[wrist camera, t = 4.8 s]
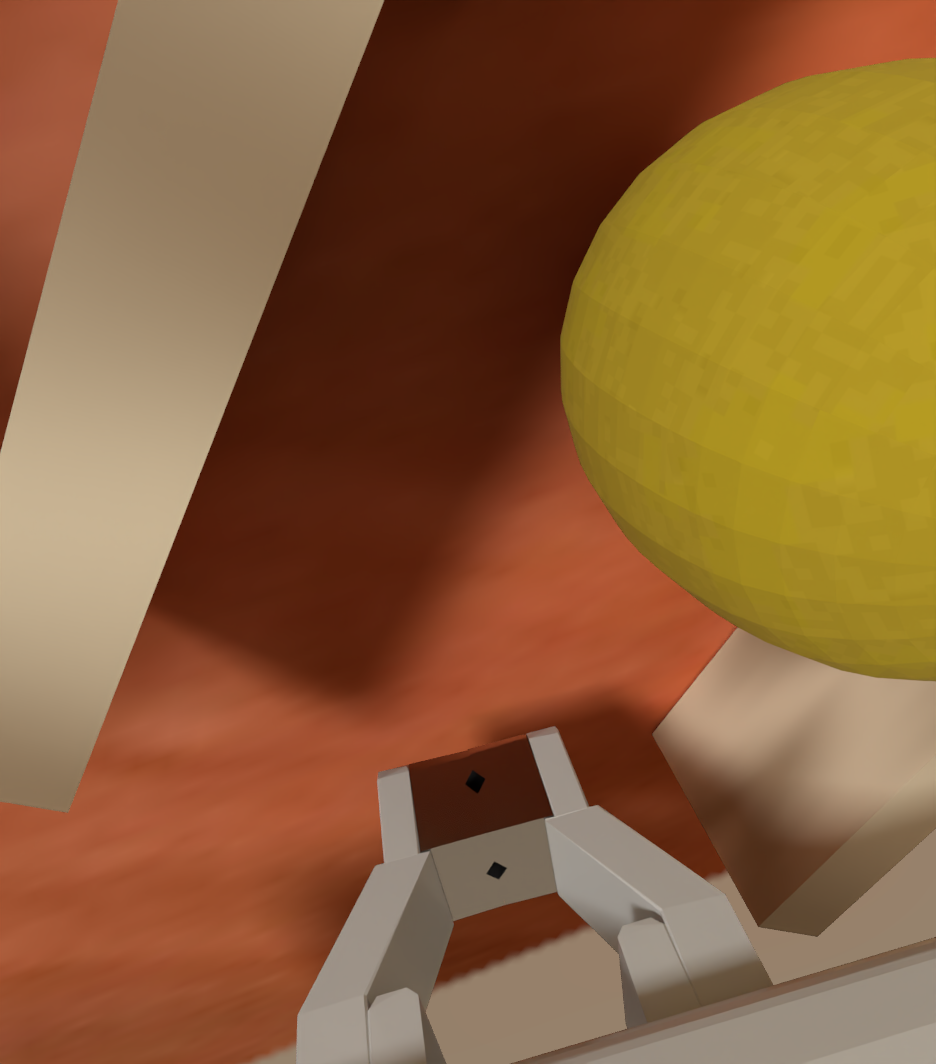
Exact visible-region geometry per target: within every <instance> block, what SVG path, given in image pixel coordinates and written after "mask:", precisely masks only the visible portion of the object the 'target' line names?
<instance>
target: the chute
mask: <svg viewBox="0 0 936 1064" xmlns="http://www.w3.org/2000/svg"><path fill="white" fill-rule="evenodd" d="M383 2H384V0H118V3H117V7H116V11H115V15H114V19H113V22H112V26H111V30H110V34H109V38H108V42H107V45H106V49H105V53H104V57H103V61H102V65H101V69H100V72H99V76H98V80H97V84H96V88H95V92H94V95H93V99H92V103H91V107H90V111H89V115H88V118H87V122H86V126H85V130H84V134H83V138H82V141H81V145H80V149H79V153H78V157H77V161H76V164H75V168H74V172H73V176H72V180H71V184H70V187H69V191H68V195H67V199H66V203H65V207H64V210H63V214H62V218H61V222H60V226H59V230H58V233H57V237H56V241H55V245H54V249H53V253H52V256H51V260H50V264H49V268H48V272H47V276H46V279H45V283H44V287H43V291H42V295H41V299H40V302H39V306H38V310H37V314H36V318H35V322H34V326H33V329H32V333H31V337H30V341H29V345H28V349H27V352H26V356H25V360H24V364H23V368H22V372H21V375H20V379H19V383H18V387H17V391H16V395H15V398H14V402H13V406H12V410H11V414H10V418H9V421H8V425H7V429H6V433H5V437H4V441H3V444H2V448H1V452H0V802H6V803H12V804H18V805H25V806H31V807H37V808H43V809H49V810H55V811H61V812H67V813H68V812H69V809H70V806H71V804H72V801H73V799H74V796H75V794H76V791H77V788H78V786H79V783H80V781H81V778H82V776H83V773H84V770H85V768H86V765H87V763H88V760H89V758H90V755H91V752H92V750H93V747H94V745H95V742H96V740H97V737H98V734H99V732H100V729H101V727H102V724H103V722H104V719H105V716H106V714H107V711H108V709H109V706H110V704H111V701H112V698H113V696H114V693H115V691H116V688H117V686H118V683H119V680H120V678H121V675H122V673H123V670H124V668H125V665H126V662H127V660H128V657H129V655H130V652H131V650H132V647H133V644H134V642H135V639H136V637H137V634H138V632H139V629H140V627H141V624H142V621H143V619H144V616H145V614H146V611H147V609H148V606H149V603H150V601H151V598H152V596H153V593H154V591H155V588H156V585H157V583H158V580H159V578H160V575H161V573H162V570H163V567H164V565H165V562H166V560H167V557H168V555H169V552H170V549H171V547H172V544H173V542H174V539H175V537H176V534H177V531H178V529H179V526H180V524H181V521H182V519H183V516H184V513H185V511H186V508H187V506H188V503H189V501H190V498H191V495H192V493H193V490H194V488H195V485H196V483H197V480H198V477H199V475H200V472H201V470H202V467H203V465H204V462H205V459H206V457H207V454H208V452H209V449H210V447H211V444H212V441H213V439H214V436H215V434H216V431H217V429H218V426H219V424H220V421H221V418H222V416H223V413H224V411H225V408H226V406H227V403H228V400H229V398H230V395H231V393H232V390H233V388H234V385H235V382H236V380H237V377H238V375H239V372H240V370H241V367H242V364H243V362H244V359H245V357H246V354H247V352H248V349H249V346H250V344H251V341H252V339H253V336H254V334H255V331H256V328H257V326H258V323H259V321H260V318H261V316H262V313H263V310H264V308H265V305H266V303H267V300H268V298H269V295H270V292H271V290H272V287H273V285H274V282H275V280H276V277H277V274H278V272H279V269H280V267H281V264H282V262H283V259H284V256H285V254H286V251H287V249H288V246H289V244H290V241H291V239H292V236H293V233H294V231H295V228H296V226H297V223H298V221H299V218H300V215H301V213H302V210H303V208H304V205H305V203H306V200H307V197H308V195H309V192H310V190H311V187H312V185H313V182H314V179H315V177H316V174H317V172H318V169H319V167H320V164H321V161H322V159H323V156H324V154H325V151H326V149H327V146H328V143H329V141H330V138H331V136H332V133H333V131H334V128H335V125H336V123H337V120H338V118H339V115H340V113H341V110H342V107H343V105H344V102H345V100H346V97H347V95H348V92H349V89H350V87H351V84H352V82H353V79H354V77H355V74H356V71H357V69H358V66H359V64H360V61H361V59H362V56H363V54H364V51H365V48H366V46H367V43H368V41H369V38H370V36H371V33H372V30H373V28H374V25H375V23H376V20H377V18H378V15H379V12H380V10H381V7H382V5H383ZM652 735H653V737H654V739H655V741H656V743H657V744H658V746H659V748H660V750H661V752H662V753H663V755H664V757H665V759H666V761H667V762H668V764H669V766H670V768H671V770H672V771H673V773H674V775H675V777H676V779H677V781H678V782H679V784H680V786H681V788H682V790H683V791H684V793H685V795H686V797H687V799H688V800H689V802H690V804H691V806H692V808H693V809H694V811H695V813H696V815H697V817H698V819H699V820H700V822H701V824H702V826H703V828H704V829H705V831H706V833H707V835H708V837H709V838H710V840H711V842H712V844H713V846H714V847H715V849H716V851H717V853H718V855H719V857H720V858H721V860H722V862H723V864H724V866H725V867H726V869H727V871H728V873H729V875H730V876H731V878H732V880H733V882H734V883H735V885H736V887H737V889H738V891H739V893H740V895H741V896H742V898H743V900H744V902H745V904H746V905H747V907H748V909H749V911H750V913H751V914H752V916H753V918H754V920H755V922H756V923H757V925H758V927H762V928H768V929H774V930H780V931H786V932H793V933H799V934H805V935H811V936H816V937H817V936H819V935H820V934H821V933H822V932H823V931H824V930H825V929H826V928H827V927H828V926H829V925H831V924H832V923H833V922H834V921H835V920H836V919H837V918H838V917H839V916H840V915H841V914H843V913H844V912H845V911H846V910H847V909H848V908H849V907H850V906H851V905H852V904H853V903H855V902H856V901H857V900H858V899H859V898H860V897H861V896H862V895H863V894H864V893H866V892H867V891H868V890H869V889H870V888H871V887H872V886H873V885H874V884H875V883H876V882H878V881H879V879H881V878H882V877H883V876H884V875H885V874H886V873H887V872H888V871H890V870H891V869H892V868H893V867H894V866H895V865H896V864H897V863H898V862H899V861H901V860H902V859H903V858H904V857H905V856H906V855H907V854H908V853H909V852H910V851H911V850H913V848H915V847H916V846H917V845H918V844H919V843H920V842H921V841H922V840H923V839H924V838H926V837H927V836H928V835H929V834H930V833H931V832H932V831H933V830H934V829H935V828H936V681H917V680H902V679H887V678H875V677H870V676H865V675H861V674H856V673H851V672H846V671H841V670H838V669H836V668H833V667H830V666H828V665H825V664H822V663H819V662H817V661H814V660H811V659H809V658H806V657H803V656H800V655H798V654H795V653H793V652H790V651H787V650H785V649H782V648H780V647H777V646H774V645H772V644H769V643H767V642H765V641H763V640H761V639H759V638H757V637H755V636H753V635H751V634H749V633H748V632H746V631H744V630H742V629H740V628H737V629H736V630H735V631H734V633H733V634H732V635H731V636H730V638H729V639H728V640H727V641H726V643H725V644H724V645H723V646H722V648H721V649H720V650H719V651H718V653H717V654H716V655H715V656H714V657H713V659H712V660H711V661H710V662H709V664H708V665H707V666H706V667H705V669H704V670H703V671H702V672H701V674H700V675H699V676H698V677H697V679H696V680H695V681H694V682H693V684H692V685H691V686H690V687H689V689H688V690H687V691H686V692H685V694H684V695H683V696H682V697H681V699H680V700H679V701H678V702H677V704H676V705H675V706H674V707H673V709H672V710H671V711H670V712H669V714H668V715H667V716H666V717H665V718H664V720H663V721H662V722H661V723H660V725H659V726H658V727H657V728H656V730H655V731H654V732H653V733H652Z"/></svg>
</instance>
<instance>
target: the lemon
mask: <svg viewBox="0 0 936 1064" xmlns="http://www.w3.org/2000/svg"><path fill="white" fill-rule="evenodd" d="M560 355H561V394H562V402H563V406H564V409H565V413H566V416H567V420H568V424H569V427H570V431H571V434H572V438H573V441H574V445H575V448H576V452H577V455H578V458H579V461H580V464H581V466H582V468H583V470H584V472H585V474H586V476H587V478H588V480H589V481H590V483H591V484H592V486H593V487H594V489H595V491H596V492H597V494H598V495H599V497H600V498H601V500H602V502H603V503H604V505H605V506H606V508H607V509H608V511H609V512H610V514H611V516H612V517H613V519H614V520H615V522H616V523H617V525H618V526H619V527H620V529H621V530H622V532H623V533H624V535H625V536H626V537H627V538H628V539H629V541H630V542H631V543H632V544H633V545H634V546H635V547H636V548H637V549H638V551H639V552H640V553H641V554H643V555H644V556H645V557H646V558H647V559H648V560H649V561H650V562H651V563H653V564H654V565H655V566H656V567H657V568H658V569H660V570H661V571H662V572H663V573H665V574H666V575H667V576H668V577H670V578H671V579H672V580H673V581H675V582H676V583H677V584H678V585H680V586H681V587H682V588H683V589H685V590H686V591H687V592H688V593H690V594H691V595H692V596H693V597H695V598H696V599H697V600H699V601H700V602H701V603H703V604H704V605H705V606H707V607H708V608H709V609H711V610H712V611H713V612H715V613H716V614H718V615H719V616H721V617H723V618H724V619H726V620H727V621H729V622H730V623H732V624H734V625H735V626H737V627H738V628H740V629H742V630H744V631H746V632H748V633H749V634H751V635H753V636H755V637H757V638H759V639H761V640H763V641H765V642H767V643H769V644H772V645H774V646H777V647H780V648H782V649H785V650H787V651H790V652H793V653H795V654H798V655H800V656H803V657H806V658H809V659H811V660H814V661H817V662H819V663H822V664H825V665H828V666H830V667H833V668H836V669H838V670H841V671H846V672H851V673H856V674H861V675H865V676H870V677H875V678H887V679H902V680H917V681H936V58H919V59H905V60H899V61H892V62H886V63H880V64H874V65H869V66H863V67H857V68H852V69H846V70H840V71H835V72H829V73H823V74H818V75H812V76H807V77H804V78H801V79H797V80H794V81H791V82H787V83H784V84H782V85H780V86H778V87H776V88H774V89H771V90H769V91H767V92H765V93H763V94H761V95H759V96H757V97H755V98H752V99H750V100H748V101H746V102H744V103H742V104H740V105H738V106H736V107H734V108H732V109H730V110H728V111H725V112H723V113H721V114H719V115H717V116H715V117H713V118H711V119H709V120H707V121H705V122H703V123H701V124H700V125H698V126H697V127H696V128H694V129H693V130H692V131H690V132H689V133H688V134H687V135H685V136H684V137H683V138H682V139H681V140H679V141H678V142H677V143H676V144H675V145H673V146H672V147H671V148H670V149H668V150H667V151H666V152H665V153H664V154H662V155H661V156H660V157H659V158H658V159H656V160H655V161H654V162H653V163H652V164H650V165H649V166H648V167H647V168H646V169H644V170H643V171H642V172H641V173H640V174H639V175H638V176H637V177H636V179H635V180H634V181H633V183H632V184H631V185H630V187H629V188H628V189H627V190H626V192H625V193H624V194H623V196H622V197H621V198H620V200H619V201H618V202H617V204H616V205H615V206H614V207H613V209H612V210H611V211H610V213H609V214H608V215H607V217H606V218H605V219H604V220H603V222H602V223H601V224H600V226H599V228H598V230H597V232H596V234H595V236H594V239H593V241H592V243H591V245H590V247H589V249H588V251H587V253H586V255H585V257H584V260H583V262H582V264H581V266H580V268H579V270H578V272H577V274H576V276H575V278H574V280H573V284H572V288H571V293H570V297H569V301H568V306H567V310H566V314H565V319H564V323H563V328H562V332H561V336H560Z"/></svg>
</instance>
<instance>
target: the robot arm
mask: <svg viewBox="0 0 936 1064" xmlns="http://www.w3.org/2000/svg"><path fill="white" fill-rule="evenodd" d="M377 785H378V797H379V809H380V821H381V832H382V844H383V856H384V863H382V864H379V865H376V866H375V867H374V869H373V871H372V872H371V874H370V876H369V878H368V880H367V882H366V884H365V886H364V888H363V890H362V892H361V894H360V896H359V898H358V900H357V902H356V903H355V905H354V907H353V909H352V911H351V913H350V915H349V917H348V919H347V921H346V923H345V925H344V927H343V929H342V931H341V932H340V934H339V936H338V938H337V940H336V942H335V944H334V946H333V948H332V950H331V952H330V954H329V956H328V958H327V960H326V961H325V963H324V965H323V967H322V969H321V971H320V973H319V975H318V977H317V979H316V981H315V983H314V985H313V987H312V989H311V990H310V992H309V994H308V996H307V998H306V1000H305V1002H304V1004H303V1006H302V1008H301V1010H300V1012H299V1014H298V1019H297V1050H296V1064H446V1062H445V1059H444V1057H443V1054H442V1052H441V1049H440V1047H439V1044H438V1042H437V1039H436V1037H435V1034H434V1033H433V1030H432V1027H431V1025H430V1022H429V1020H428V1018H427V1015H426V1008H427V1006H428V1003H429V1000H430V997H431V994H432V991H433V988H434V985H435V981H436V978H437V975H438V972H439V969H440V966H441V963H442V960H443V957H444V954H445V951H446V948H447V945H448V942H449V938H450V935H451V932H452V929H453V926H454V923H453V921H455V920H458V919H462V918H465V917H468V916H471V915H474V914H478V913H481V912H484V911H487V910H490V909H494V908H497V907H500V906H503V905H507V904H511V903H515V902H519V901H523V900H527V899H531V898H535V897H539V896H543V895H547V894H551V893H555V892H558V895H559V896H560V897H561V898H562V899H563V900H564V901H565V902H566V903H567V904H568V905H569V906H570V907H571V908H572V909H573V910H574V911H575V912H576V913H577V914H578V915H579V916H580V917H582V918H583V919H584V920H585V921H586V922H587V923H588V924H589V925H590V926H591V927H592V928H593V929H594V930H595V931H596V932H597V933H598V934H599V935H600V936H601V937H602V938H603V939H604V940H605V941H606V942H607V943H608V944H609V945H610V946H611V947H612V948H613V949H614V950H615V951H616V952H618V954H619V958H620V969H621V979H622V989H623V1000H624V1009H625V1020H626V1026H627V1029H625V1030H622V1031H619V1032H615V1033H612V1034H609V1035H605V1036H602V1037H598V1038H595V1039H592V1040H589V1041H585V1042H582V1043H578V1044H575V1045H571V1046H568V1047H565V1048H562V1049H558V1050H555V1051H551V1052H548V1053H545V1054H541V1055H538V1056H535V1057H532V1058H528V1059H525V1060H522V1061H518V1062H515V1063H511V1064H936V937H934V938H931V939H928V940H924V941H921V942H918V943H914V944H912V945H908V946H905V947H901V948H898V949H894V950H891V951H888V952H885V953H881V954H878V955H875V956H871V957H868V958H864V959H861V960H857V961H854V962H851V963H847V964H844V965H841V966H837V967H834V968H831V969H827V970H824V971H821V972H817V973H814V974H810V975H807V976H804V977H800V978H797V979H794V980H790V981H787V982H783V983H780V984H777V985H773V984H772V982H771V980H770V978H769V976H768V974H767V972H766V970H765V968H764V967H763V965H762V963H761V961H760V959H759V957H758V956H757V953H756V951H755V949H754V948H753V946H752V944H751V942H750V940H749V938H748V936H747V934H746V932H745V931H744V929H743V927H742V925H741V923H740V921H739V919H738V917H737V916H736V914H735V912H734V910H733V908H732V906H731V904H730V902H729V900H728V899H727V897H726V895H725V894H724V893H723V892H721V891H720V890H718V889H717V888H716V887H714V886H713V885H712V884H710V883H709V882H707V881H706V880H704V879H703V878H702V877H700V876H699V875H697V874H696V873H694V872H693V871H692V870H690V869H689V868H687V867H686V866H685V865H683V864H682V863H680V862H679V861H677V860H676V859H675V858H673V857H672V856H670V855H669V854H668V853H666V852H665V851H663V850H662V849H660V848H659V847H658V846H656V845H655V844H653V843H652V842H650V841H649V840H648V839H646V838H645V837H643V836H642V835H641V834H639V833H638V832H636V831H635V830H633V829H632V828H631V827H629V826H628V825H626V824H625V823H623V822H622V821H621V820H619V819H618V818H616V817H615V816H614V815H612V814H611V813H609V812H608V811H606V810H605V809H604V808H602V807H601V806H599V805H595V806H590V807H589V805H588V802H587V800H586V797H585V795H584V792H583V790H582V787H581V785H580V782H579V780H578V777H577V775H576V772H575V770H574V767H573V765H572V762H571V760H570V757H569V755H568V752H567V750H566V747H565V745H564V742H563V740H562V737H561V735H560V732H559V730H558V729H557V728H556V727H555V726H553V727H549V728H545V729H541V730H538V731H534V732H530V733H527V734H526V735H525V734H521V735H518V736H514V737H511V738H507V739H503V740H500V741H496V742H493V743H489V744H485V745H482V746H478V747H475V748H471V749H468V750H467V751H463V752H459V753H454V754H450V755H446V756H442V757H438V758H433V759H429V760H425V761H421V762H417V763H412V764H409V765H405V766H401V767H397V768H393V769H389V770H385V771H381V772H378V779H377ZM504 902H505V903H504Z"/></svg>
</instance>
